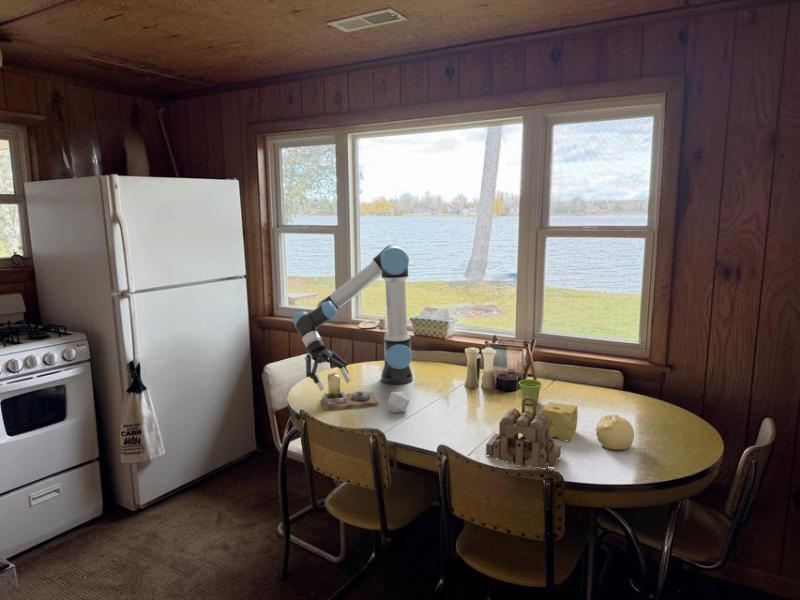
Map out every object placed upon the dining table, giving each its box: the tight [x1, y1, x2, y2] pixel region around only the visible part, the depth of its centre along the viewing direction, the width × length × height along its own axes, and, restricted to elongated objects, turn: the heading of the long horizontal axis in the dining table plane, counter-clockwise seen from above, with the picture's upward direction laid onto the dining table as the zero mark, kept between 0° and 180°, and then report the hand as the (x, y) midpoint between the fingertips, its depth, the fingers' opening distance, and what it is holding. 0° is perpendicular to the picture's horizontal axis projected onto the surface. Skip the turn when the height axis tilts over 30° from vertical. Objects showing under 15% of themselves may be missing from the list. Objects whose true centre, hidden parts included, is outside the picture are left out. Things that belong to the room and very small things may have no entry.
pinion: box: [327, 372, 341, 399], centre depth 224 cm, size 5×5×11 cm
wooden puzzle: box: [485, 397, 562, 469], centre depth 173 cm, size 22×15×19 cm, turn 62°
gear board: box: [321, 390, 379, 412], centre depth 226 cm, size 22×14×4 cm, turn 102°
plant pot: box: [518, 379, 543, 406], centre depth 222 cm, size 9×9×9 cm
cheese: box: [541, 401, 579, 442], centre depth 191 cm, size 10×11×10 cm
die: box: [386, 391, 410, 414], centre depth 215 cm, size 8×9×10 cm
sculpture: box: [595, 414, 635, 451], centre depth 180 cm, size 11×12×11 cm
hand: (335, 385), depth 223 cm, fingers open, 13 cm apart
